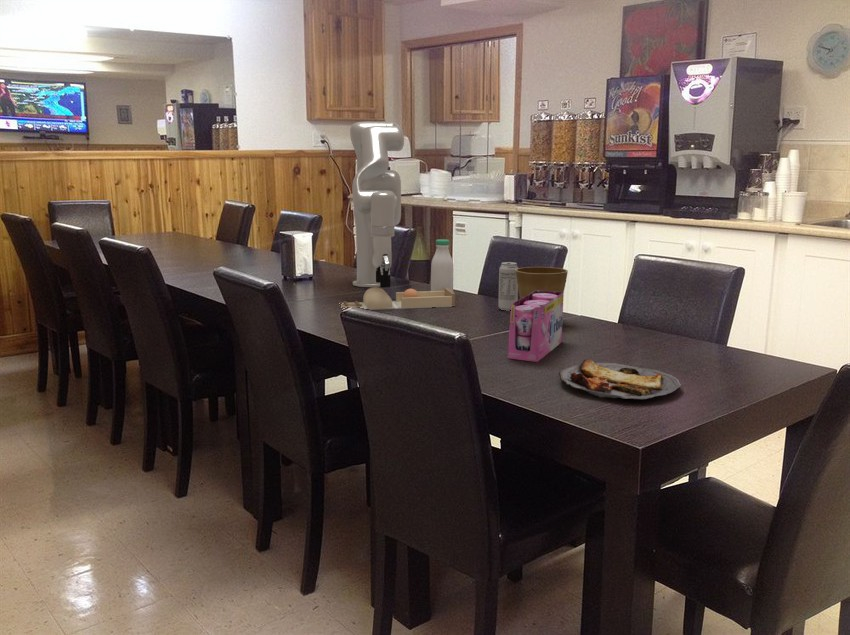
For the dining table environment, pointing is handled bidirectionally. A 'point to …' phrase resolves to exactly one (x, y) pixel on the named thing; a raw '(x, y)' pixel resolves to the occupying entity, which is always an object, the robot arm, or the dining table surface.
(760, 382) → the dining table surface
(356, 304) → the tee
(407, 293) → the ball
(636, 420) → the dining table surface
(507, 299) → the energy drink can
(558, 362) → the dining table surface
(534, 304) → the gum box
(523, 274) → the plant pot
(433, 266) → the milk bottle
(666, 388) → the food plate
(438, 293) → the lane
